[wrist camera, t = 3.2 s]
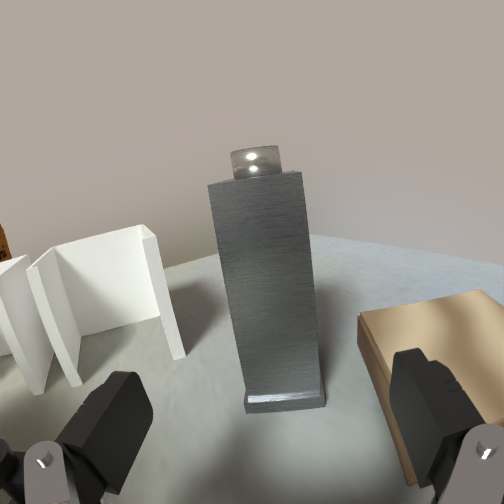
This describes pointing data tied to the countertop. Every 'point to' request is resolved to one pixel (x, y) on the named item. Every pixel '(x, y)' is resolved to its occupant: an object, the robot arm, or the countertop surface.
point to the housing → (269, 281)
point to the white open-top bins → (81, 299)
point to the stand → (439, 351)
